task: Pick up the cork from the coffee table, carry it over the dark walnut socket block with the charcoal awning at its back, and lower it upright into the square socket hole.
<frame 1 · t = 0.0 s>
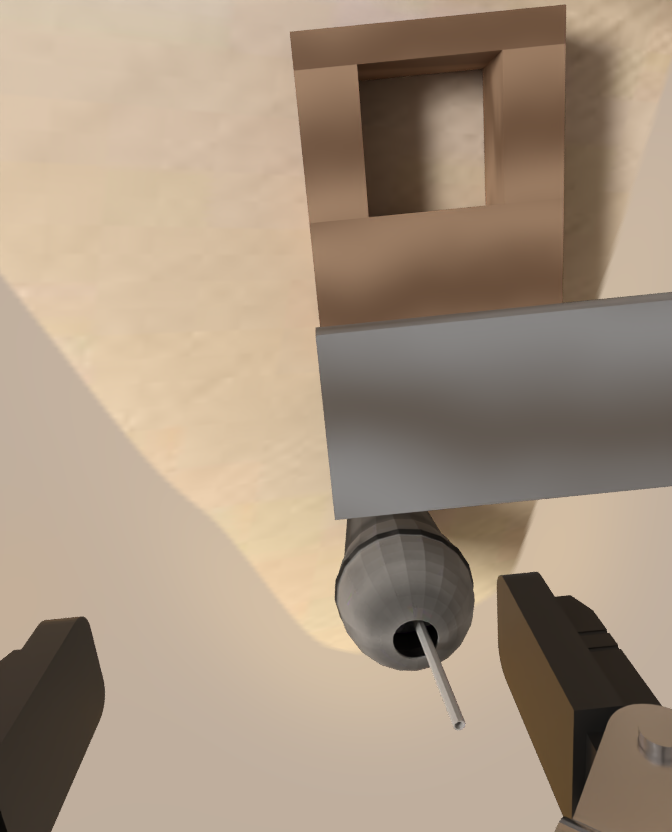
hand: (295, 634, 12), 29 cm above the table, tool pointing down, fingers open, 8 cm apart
socket stand: (424, 207, 38), on the table
beverage cup: (381, 498, 44), on the table
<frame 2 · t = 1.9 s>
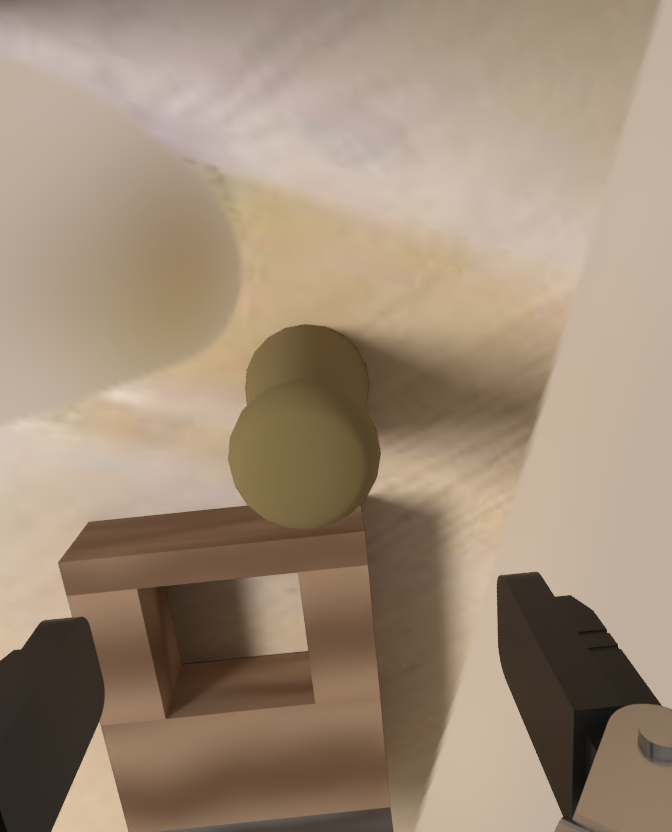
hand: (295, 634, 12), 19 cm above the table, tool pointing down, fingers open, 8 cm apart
socket stand: (247, 653, 35), on the table
cork: (307, 385, 30), on the table
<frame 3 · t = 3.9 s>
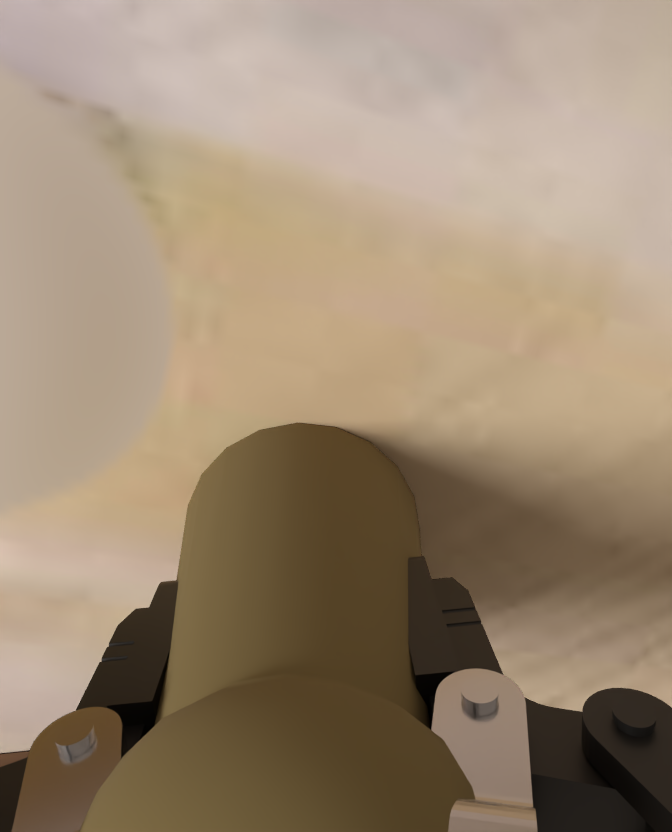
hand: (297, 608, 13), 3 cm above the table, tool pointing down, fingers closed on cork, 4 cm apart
cork: (303, 530, 16), on the table, touching gripper
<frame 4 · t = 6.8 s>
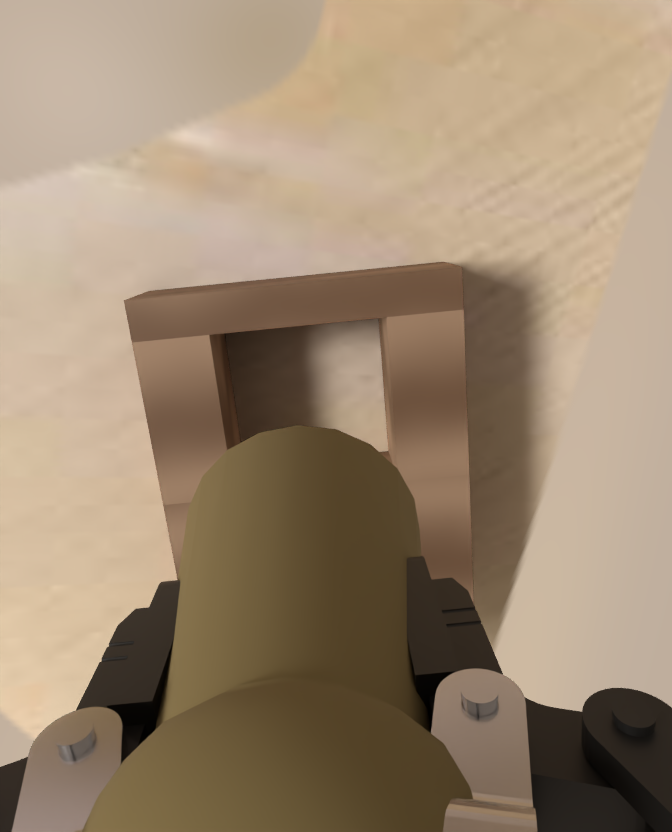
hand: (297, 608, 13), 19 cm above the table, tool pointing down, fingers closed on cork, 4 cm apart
socket stand: (315, 454, 32), on the table
cork: (303, 532, 16), point 15 cm above the table, touching gripper
when the fingers open (5 cm above the table, at t = 9.6 s): cork drops 2 cm, resting in socket stand.
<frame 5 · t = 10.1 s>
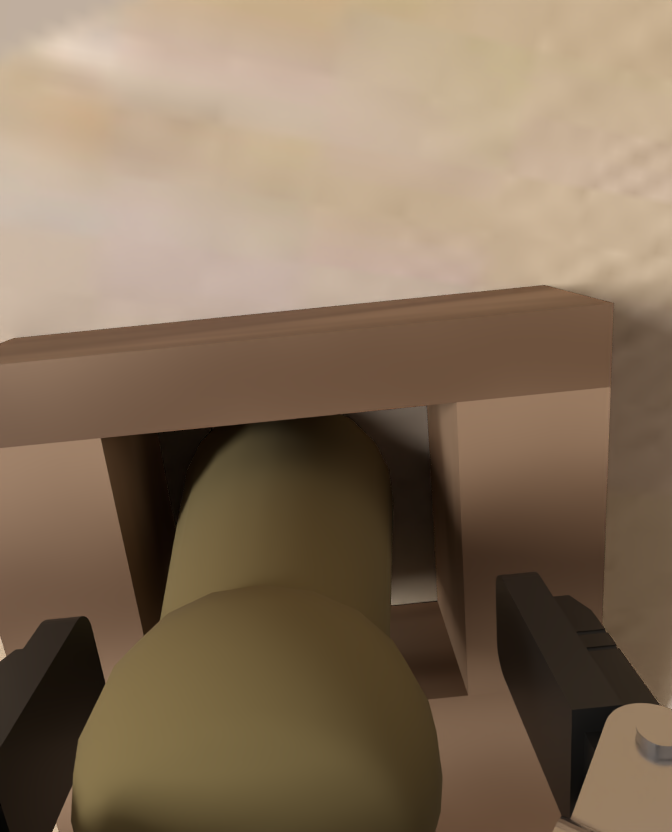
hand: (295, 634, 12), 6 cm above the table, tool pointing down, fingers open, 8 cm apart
socket stand: (315, 606, 19), on the table
cork: (289, 497, 18), resting in socket stand
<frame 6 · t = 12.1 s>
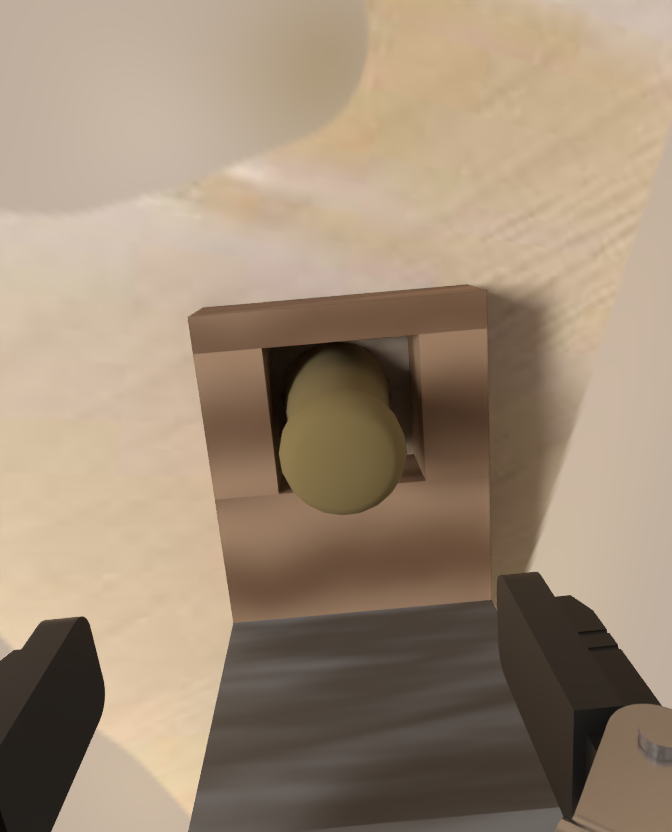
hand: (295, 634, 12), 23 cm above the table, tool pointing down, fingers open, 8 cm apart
socket stand: (348, 456, 35), on the table
cork: (336, 394, 35), resting in socket stand
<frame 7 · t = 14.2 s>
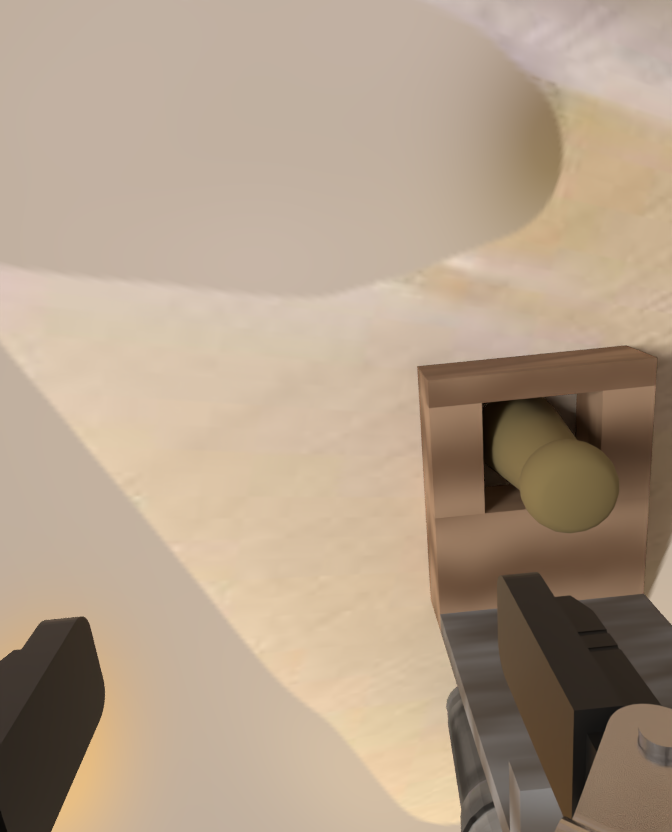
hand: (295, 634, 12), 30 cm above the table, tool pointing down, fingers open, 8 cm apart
socket stand: (522, 480, 44), on the table
cork: (515, 431, 43), resting in socket stand
beverage cup: (473, 702, 50), on the table
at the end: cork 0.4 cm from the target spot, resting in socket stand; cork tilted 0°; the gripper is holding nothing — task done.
